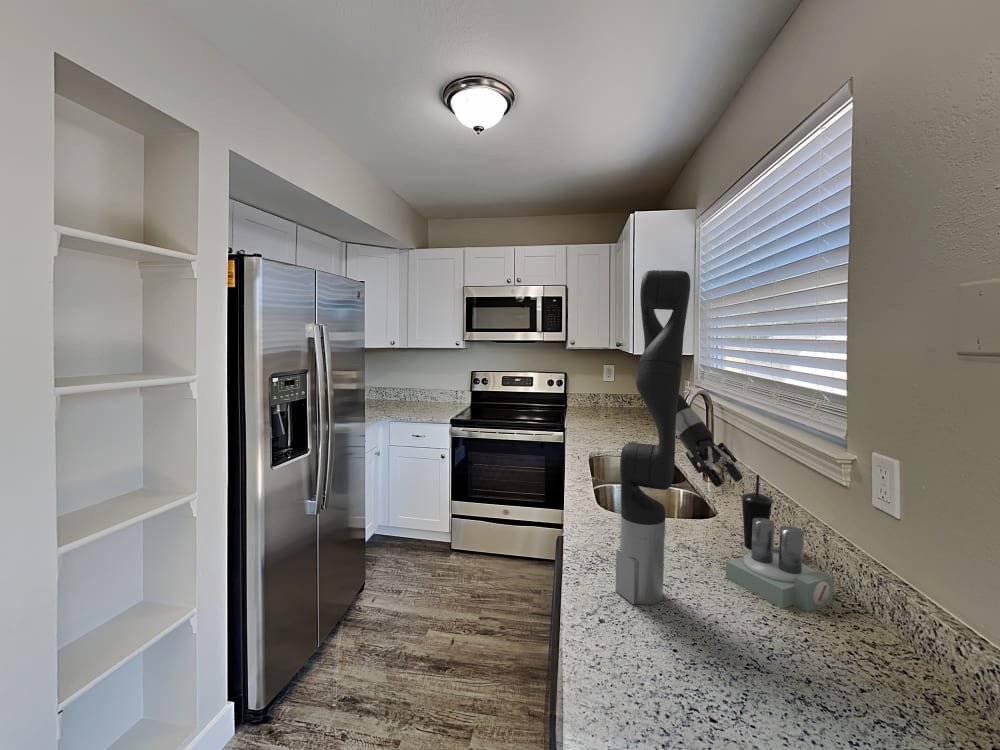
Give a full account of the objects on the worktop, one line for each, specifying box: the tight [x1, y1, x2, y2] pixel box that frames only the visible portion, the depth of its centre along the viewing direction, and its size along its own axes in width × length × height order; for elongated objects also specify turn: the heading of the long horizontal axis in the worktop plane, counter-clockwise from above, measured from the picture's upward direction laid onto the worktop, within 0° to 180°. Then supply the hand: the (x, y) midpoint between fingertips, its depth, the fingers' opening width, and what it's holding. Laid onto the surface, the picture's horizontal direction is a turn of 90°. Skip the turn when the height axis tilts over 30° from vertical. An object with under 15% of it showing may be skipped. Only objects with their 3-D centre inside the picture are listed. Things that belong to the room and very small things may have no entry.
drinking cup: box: [740, 474, 774, 550], centre depth 126 cm, size 8×8×20 cm
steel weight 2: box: [778, 525, 805, 574], centre depth 104 cm, size 4×4×9 cm
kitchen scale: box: [725, 551, 834, 613], centre depth 105 cm, size 15×18×6 cm
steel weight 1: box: [750, 518, 775, 563], centre depth 109 cm, size 4×4×9 cm
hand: (730, 482), depth 115 cm, fingers open, 8 cm apart
